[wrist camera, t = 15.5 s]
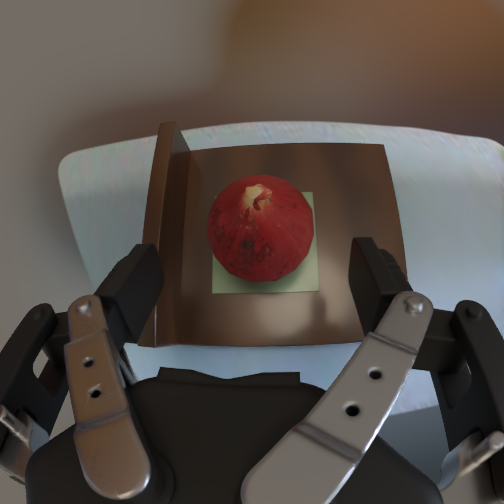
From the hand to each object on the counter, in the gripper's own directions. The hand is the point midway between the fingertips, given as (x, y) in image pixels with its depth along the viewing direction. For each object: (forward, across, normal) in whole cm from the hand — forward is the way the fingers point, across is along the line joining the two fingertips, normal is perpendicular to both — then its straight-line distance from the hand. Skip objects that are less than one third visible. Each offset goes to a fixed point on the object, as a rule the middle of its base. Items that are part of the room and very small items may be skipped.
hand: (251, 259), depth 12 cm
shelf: (+10, -2, +5) cm, 11 cm away
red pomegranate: (+7, 0, +4) cm, 8 cm away
